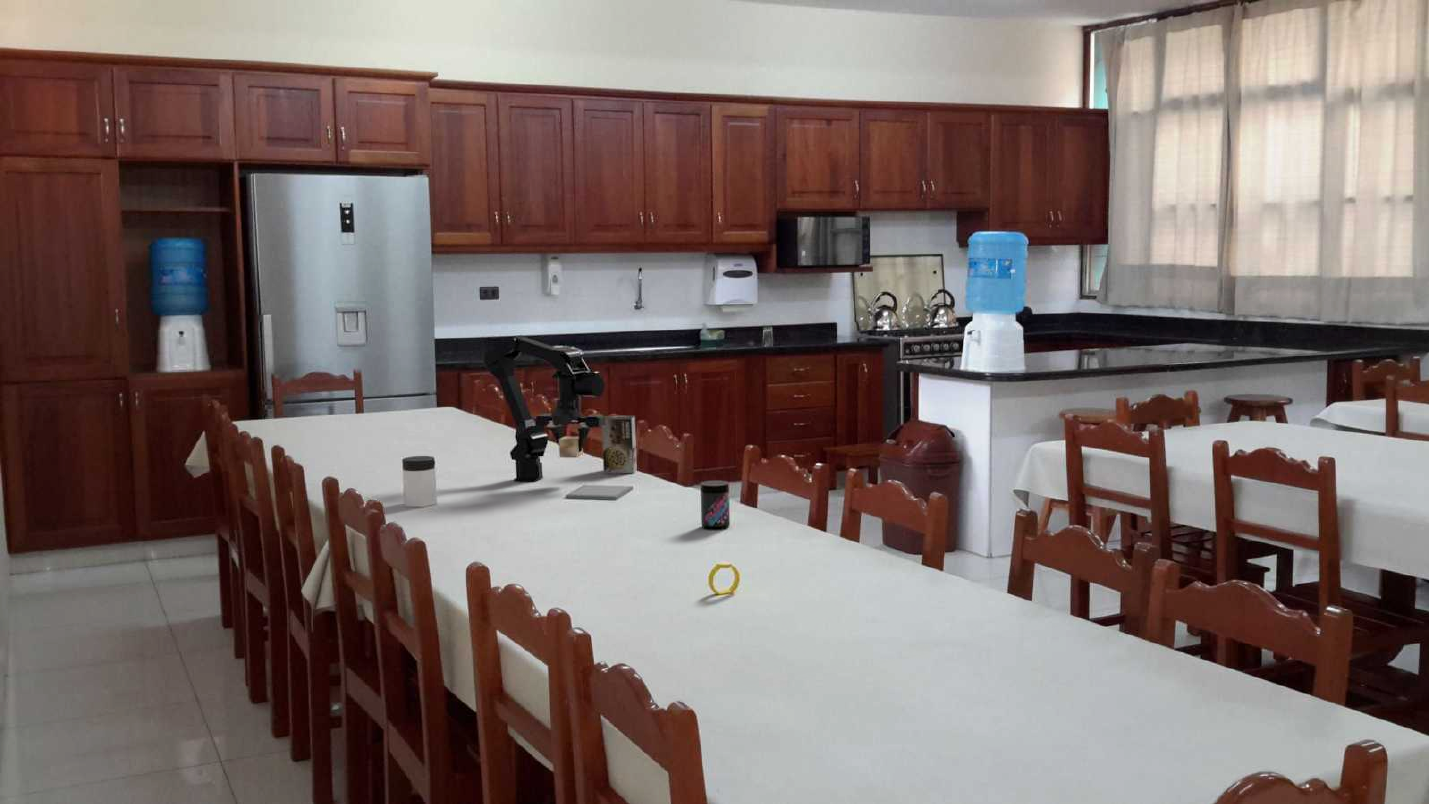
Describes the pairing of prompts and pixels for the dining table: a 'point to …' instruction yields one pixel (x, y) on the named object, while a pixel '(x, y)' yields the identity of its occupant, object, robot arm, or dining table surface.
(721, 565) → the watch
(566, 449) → the maple cube
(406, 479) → the jar
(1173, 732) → the dining table surface
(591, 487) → the mat
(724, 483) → the supplement container
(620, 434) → the coffee box
